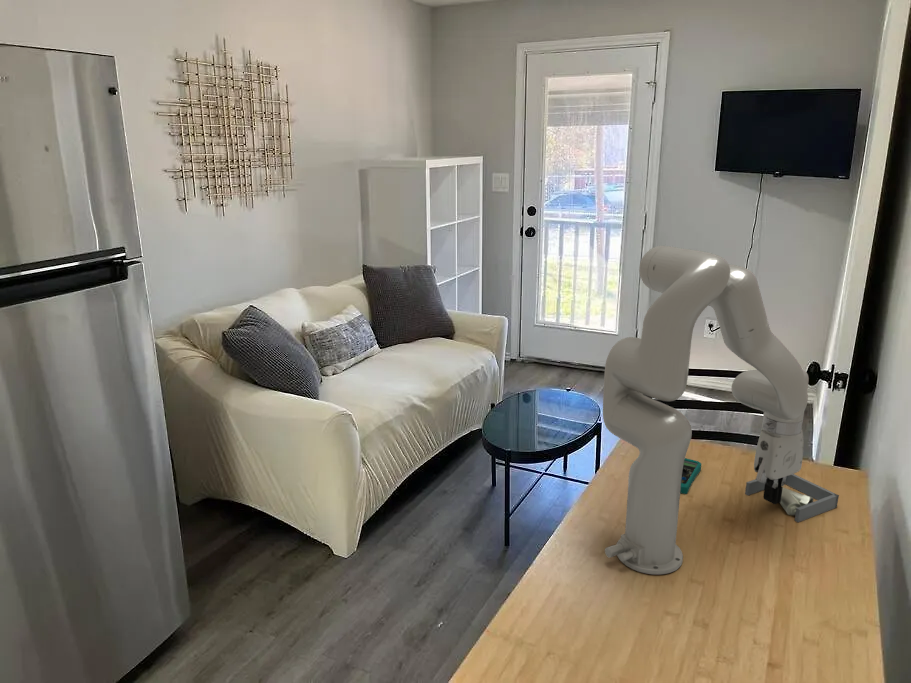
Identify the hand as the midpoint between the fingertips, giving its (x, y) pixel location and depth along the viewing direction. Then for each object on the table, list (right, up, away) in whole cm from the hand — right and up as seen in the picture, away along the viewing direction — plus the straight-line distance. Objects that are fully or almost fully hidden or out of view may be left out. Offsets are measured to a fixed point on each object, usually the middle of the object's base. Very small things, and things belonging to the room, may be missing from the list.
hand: (771, 500), depth 145 cm
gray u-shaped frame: (+5, -1, +3) cm, 6 cm away
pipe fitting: (+4, -2, +1) cm, 4 cm away
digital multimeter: (-16, +1, +14) cm, 21 cm away
